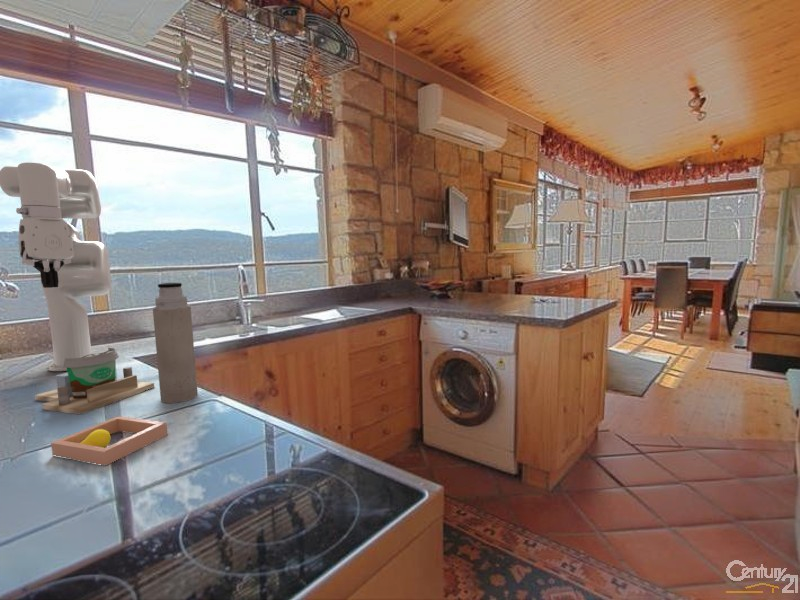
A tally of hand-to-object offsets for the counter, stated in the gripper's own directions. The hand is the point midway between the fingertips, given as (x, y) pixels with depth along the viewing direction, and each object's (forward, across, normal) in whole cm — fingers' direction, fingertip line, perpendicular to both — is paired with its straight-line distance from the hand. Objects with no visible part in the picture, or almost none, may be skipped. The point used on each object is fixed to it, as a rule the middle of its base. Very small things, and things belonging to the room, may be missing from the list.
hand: (50, 287), depth 107 cm
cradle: (+27, -2, -12) cm, 30 cm away
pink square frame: (+27, -21, -45) cm, 57 cm away
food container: (+26, -2, -17) cm, 31 cm away
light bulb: (+27, -23, -43) cm, 56 cm away
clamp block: (+26, -2, -11) cm, 28 cm away
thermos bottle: (+27, +3, -36) cm, 45 cm away
